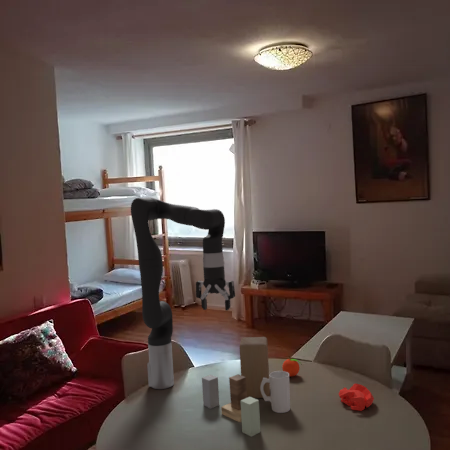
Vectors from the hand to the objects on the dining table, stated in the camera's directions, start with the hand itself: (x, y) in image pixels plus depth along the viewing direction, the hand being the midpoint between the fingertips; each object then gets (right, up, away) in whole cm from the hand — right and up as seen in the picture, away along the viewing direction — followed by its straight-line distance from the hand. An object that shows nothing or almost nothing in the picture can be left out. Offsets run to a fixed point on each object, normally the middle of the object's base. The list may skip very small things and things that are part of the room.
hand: (216, 309), depth 163 cm
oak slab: (+8, -34, -10) cm, 36 cm away
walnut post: (+8, -31, -10) cm, 33 cm away
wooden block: (+15, -32, +5) cm, 36 cm away
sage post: (+11, -34, -23) cm, 42 cm away
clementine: (+31, -31, +20) cm, 48 cm away
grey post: (-2, -33, -3) cm, 34 cm away
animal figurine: (+49, -31, -6) cm, 58 cm away
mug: (+21, -33, -8) cm, 39 cm away
